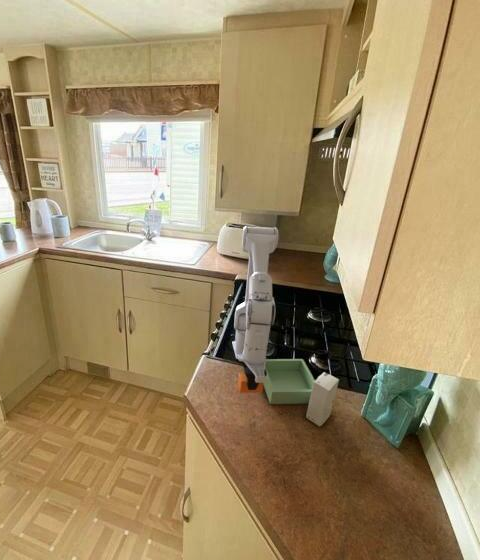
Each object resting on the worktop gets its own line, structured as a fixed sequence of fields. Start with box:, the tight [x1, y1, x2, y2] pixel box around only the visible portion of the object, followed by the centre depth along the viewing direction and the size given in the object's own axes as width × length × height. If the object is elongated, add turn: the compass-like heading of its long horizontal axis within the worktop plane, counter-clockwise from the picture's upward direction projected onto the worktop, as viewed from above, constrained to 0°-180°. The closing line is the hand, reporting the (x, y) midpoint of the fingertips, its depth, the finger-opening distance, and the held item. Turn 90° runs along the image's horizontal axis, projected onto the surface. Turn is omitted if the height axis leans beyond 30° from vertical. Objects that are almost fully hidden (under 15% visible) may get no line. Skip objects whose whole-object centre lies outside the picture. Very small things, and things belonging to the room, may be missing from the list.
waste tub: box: [263, 358, 316, 405], centre depth 93 cm, size 14×14×4 cm
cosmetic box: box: [305, 371, 340, 427], centre depth 81 cm, size 6×4×12 cm
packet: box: [237, 373, 264, 394], centre depth 85 cm, size 3×6×4 cm, turn 93°
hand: (250, 383), depth 85 cm, fingers closed on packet, 3 cm apart
